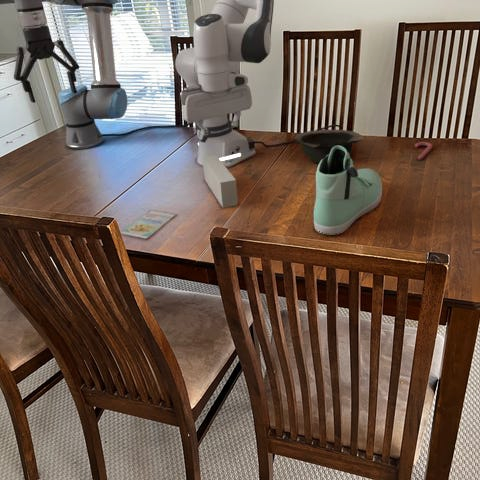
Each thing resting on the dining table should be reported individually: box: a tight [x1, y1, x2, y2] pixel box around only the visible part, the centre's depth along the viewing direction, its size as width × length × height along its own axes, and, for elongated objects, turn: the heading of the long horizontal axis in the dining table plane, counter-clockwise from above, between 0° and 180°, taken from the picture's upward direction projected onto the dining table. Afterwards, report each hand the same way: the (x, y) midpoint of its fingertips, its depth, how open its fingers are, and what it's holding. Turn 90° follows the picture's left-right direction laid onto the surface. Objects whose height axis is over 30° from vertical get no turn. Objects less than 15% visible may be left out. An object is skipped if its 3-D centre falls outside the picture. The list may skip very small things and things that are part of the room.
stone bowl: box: [292, 129, 365, 164], centre depth 172 cm, size 25×25×9 cm
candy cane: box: [414, 141, 434, 161], centre depth 170 cm, size 6×15×2 cm, turn 145°
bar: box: [202, 155, 239, 209], centre depth 152 cm, size 22×5×8 cm, turn 18°
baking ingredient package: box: [120, 209, 176, 239], centre depth 139 cm, size 9×1×15 cm
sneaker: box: [313, 146, 383, 236], centre depth 133 cm, size 14×35×20 cm, turn 152°
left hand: (54, 97), depth 155 cm, fingers open, 13 cm apart
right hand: (220, 130), depth 137 cm, fingers open, 8 cm apart
